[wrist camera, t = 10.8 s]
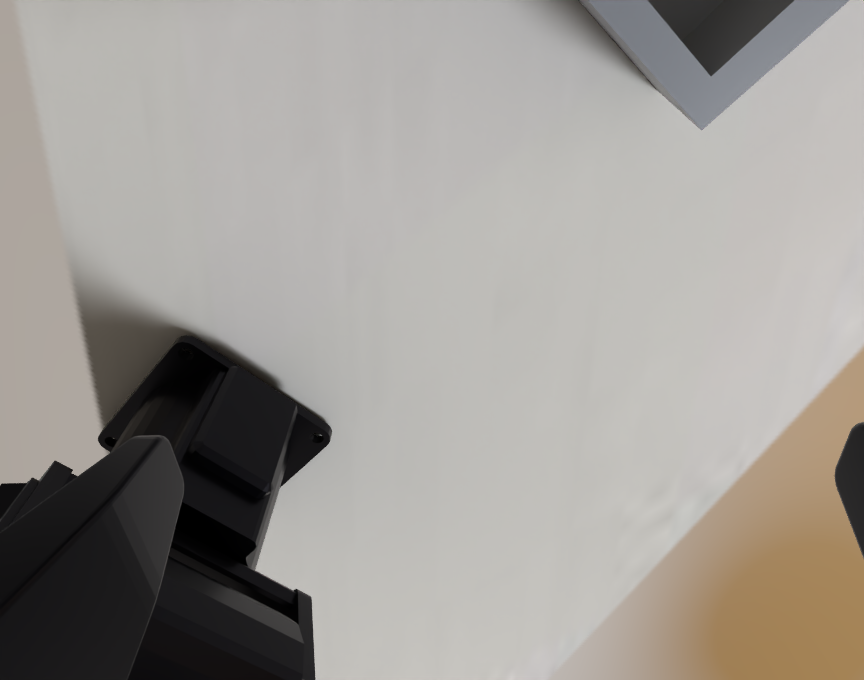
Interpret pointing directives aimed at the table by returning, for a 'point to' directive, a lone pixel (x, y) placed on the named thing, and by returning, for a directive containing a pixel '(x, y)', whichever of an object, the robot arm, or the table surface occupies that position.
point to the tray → (708, 44)
